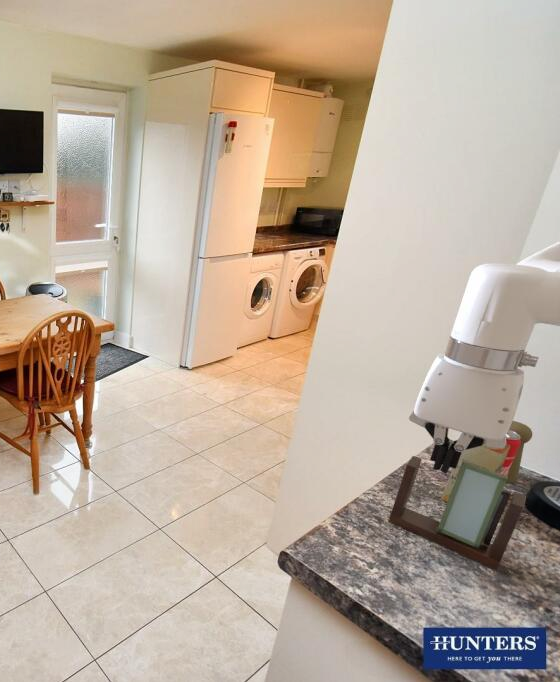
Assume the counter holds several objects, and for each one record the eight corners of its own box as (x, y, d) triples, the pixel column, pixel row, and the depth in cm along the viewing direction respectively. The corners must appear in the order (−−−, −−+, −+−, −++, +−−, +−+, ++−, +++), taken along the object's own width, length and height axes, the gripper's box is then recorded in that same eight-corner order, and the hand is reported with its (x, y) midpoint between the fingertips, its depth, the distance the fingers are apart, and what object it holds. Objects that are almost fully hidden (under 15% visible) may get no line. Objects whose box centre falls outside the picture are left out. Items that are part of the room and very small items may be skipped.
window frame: (388, 521, 73) (406, 464, 70) (394, 511, 76) (412, 455, 72) (496, 570, 64) (523, 507, 60) (499, 556, 66) (526, 495, 63)
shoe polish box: (486, 505, 78) (510, 445, 74) (477, 515, 75) (501, 454, 71) (450, 489, 81) (471, 432, 78) (440, 499, 79) (462, 440, 75)
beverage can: (487, 483, 83) (509, 427, 80) (505, 500, 79) (530, 441, 75) (454, 478, 85) (474, 422, 81) (470, 495, 80) (493, 437, 76)
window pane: (436, 530, 69) (461, 463, 65) (437, 528, 69) (462, 461, 65) (478, 548, 66) (507, 478, 62) (479, 546, 66) (507, 476, 62)
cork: (524, 478, 85) (545, 428, 81) (506, 485, 83) (527, 434, 79) (485, 461, 90) (503, 413, 87) (467, 467, 88) (486, 418, 85)
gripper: (562, 364, 58) (513, 482, 64) (420, 336, 69) (389, 439, 75) (560, 378, 54) (506, 504, 60) (408, 345, 64) (375, 455, 70)
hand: (441, 467), depth 67 cm, fingers closed
